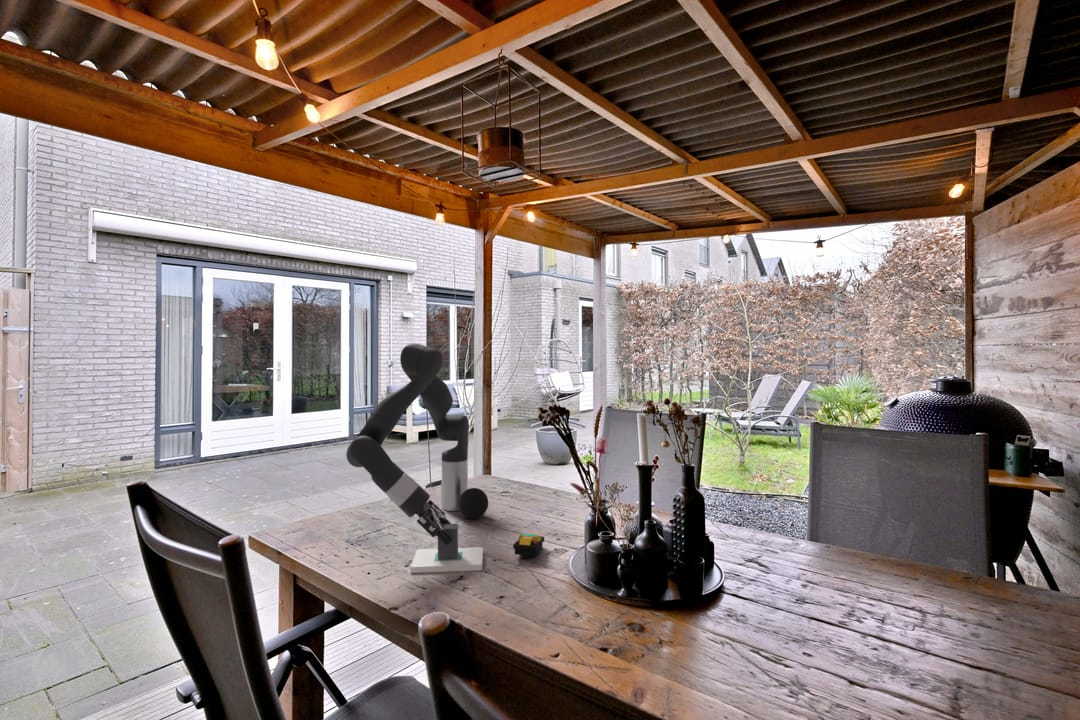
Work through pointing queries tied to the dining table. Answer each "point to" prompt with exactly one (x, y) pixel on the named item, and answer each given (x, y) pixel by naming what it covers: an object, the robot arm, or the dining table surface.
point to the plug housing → (452, 548)
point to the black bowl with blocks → (528, 545)
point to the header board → (447, 561)
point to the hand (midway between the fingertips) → (451, 536)
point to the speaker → (473, 503)
